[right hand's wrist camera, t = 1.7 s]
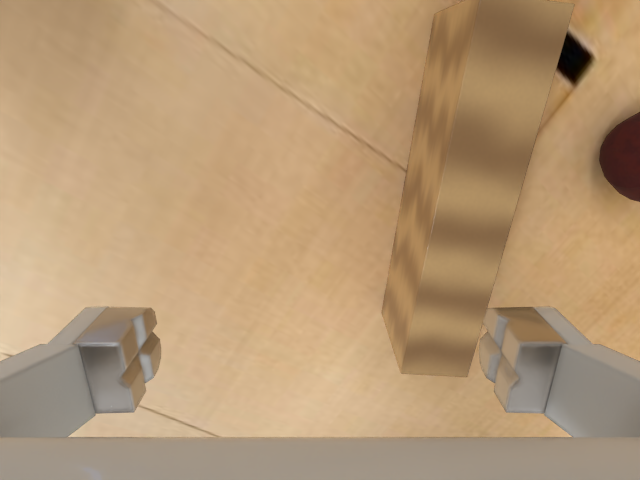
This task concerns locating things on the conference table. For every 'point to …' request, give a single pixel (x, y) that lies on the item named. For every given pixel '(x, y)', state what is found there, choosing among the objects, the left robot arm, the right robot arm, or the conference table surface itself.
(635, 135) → the potato
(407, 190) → the bar
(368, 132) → the conference table surface
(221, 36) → the conference table surface
